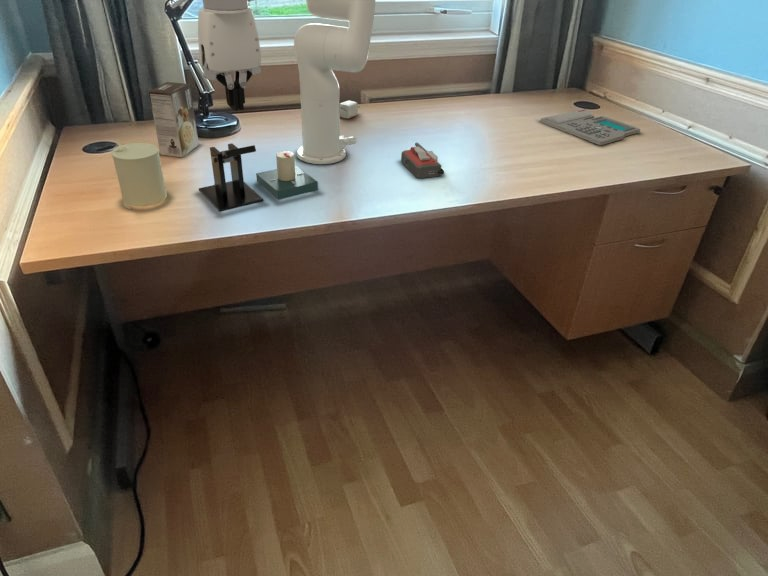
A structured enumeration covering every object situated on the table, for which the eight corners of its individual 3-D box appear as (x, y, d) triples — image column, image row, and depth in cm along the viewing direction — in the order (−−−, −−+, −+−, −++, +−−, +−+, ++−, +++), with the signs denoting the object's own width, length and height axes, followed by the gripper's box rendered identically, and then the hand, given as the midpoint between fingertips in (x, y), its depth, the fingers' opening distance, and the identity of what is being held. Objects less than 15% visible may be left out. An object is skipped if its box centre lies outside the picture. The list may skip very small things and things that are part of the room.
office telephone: (540, 114, 179) (583, 104, 189) (539, 122, 181) (581, 112, 190) (602, 137, 164) (645, 125, 173) (600, 146, 165) (643, 134, 175)
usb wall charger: (338, 116, 178) (338, 103, 176) (352, 110, 183) (352, 97, 180) (349, 119, 176) (349, 105, 174) (362, 113, 181) (362, 100, 178)
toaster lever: (257, 154, 116) (253, 142, 116) (228, 159, 113) (225, 147, 113) (238, 160, 126) (235, 149, 125) (212, 165, 123) (208, 154, 123)
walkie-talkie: (451, 177, 143) (419, 148, 159) (453, 160, 141) (420, 132, 156) (418, 181, 141) (389, 151, 156) (420, 164, 138) (390, 135, 153)
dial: (274, 175, 133) (273, 151, 130) (290, 172, 135) (289, 148, 131) (282, 182, 130) (280, 157, 127) (298, 178, 132) (297, 154, 129)
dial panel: (295, 176, 140) (294, 164, 138) (318, 193, 133) (317, 181, 131) (257, 185, 135) (255, 172, 134) (278, 203, 128) (277, 190, 126)
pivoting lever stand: (263, 205, 127) (259, 153, 121) (219, 216, 122) (212, 163, 116) (241, 185, 135) (236, 135, 128) (199, 194, 130) (191, 143, 124)
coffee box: (177, 142, 155) (166, 80, 146) (199, 145, 154) (190, 83, 145) (159, 155, 148) (147, 90, 139) (183, 158, 147) (172, 93, 138)
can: (129, 191, 130) (118, 140, 123) (172, 191, 131) (162, 140, 124) (117, 211, 122) (104, 156, 116) (162, 210, 123) (152, 157, 116)
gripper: (256, -5, 105) (264, 97, 116) (174, -1, 98) (190, 108, 109) (275, 2, 100) (281, 108, 111) (190, 7, 93) (205, 120, 104)
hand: (236, 108), depth 110 cm, fingers closed
